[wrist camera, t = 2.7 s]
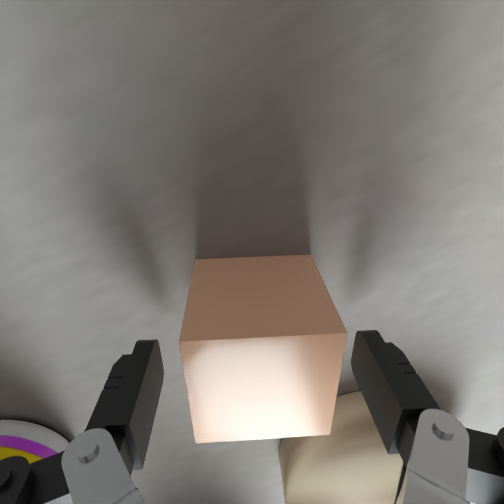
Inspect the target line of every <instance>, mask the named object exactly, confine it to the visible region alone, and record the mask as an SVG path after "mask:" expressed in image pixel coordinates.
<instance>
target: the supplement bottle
mask: <svg viewBox="0 0 504 504" xmlns="http://www.w3.org/2000/svg"><path fill="white" fill-rule="evenodd" d="M68 445H69V442H68V441H67V440H66V439H65V438H63V437H62V436H61V435H59V434H58V433H56V432H54V431H52V430H50V429H48V428H46V427H43V426H41V425H38V424H34V423H30V422H25V421H18V420H0V460H2V459H4V458H7V457H11V456H22V457H25V458H26V459H27V460H28V462H29V463H33V462H35V461H38V460H41V459H44V458H47V457H49V456H52V455H55V454H57V453H60V452H62V451H64V450H65V449H66V447H67V446H68Z"/></svg>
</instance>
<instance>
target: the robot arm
mask: <svg viewBox="0 0 504 504" xmlns="http://www.w3.org/2000/svg"><path fill="white" fill-rule="evenodd" d="M351 364H352V370H353V374H354V376H355V378H356V381H357V383H358V385H359V388H360V390H361V392H362V395H363V397H364V399H365V402H366V404H367V406H368V409H369V411H370V413H371V416H372V418H373V420H374V423H375V425H376V427H377V430H378V432H379V434H380V437H381V439H382V441H383V444H384V446H385V448H386V451H387V453H388V454H400V456H401V458H402V461H403V464H402V467H401V471H400V476H399V480H398V484H397V488H396V492H395V497H394V501H393V504H470V502H472V503H475V504H504V427H503V428H502V429H500V431H499V432H498V434H497V435H493V434H488V433H484V432H480V431H476V430H472V429H468V428H465V427H464V425H463V424H462V423H461V422H460V421H459V420H458V419H457V418H455V417H454V416H452V415H451V414H449V413H447V412H445V411H442V410H441V409H440V408H439V407H438V405H437V403H436V402H435V400H434V399H433V397H432V396H431V394H430V393H429V391H428V390H427V388H426V387H425V385H424V384H423V382H422V381H421V379H420V377H419V376H418V374H416V371H415V370H414V368H413V367H412V365H410V362H409V361H408V359H407V358H406V356H405V355H404V353H403V352H402V351H401V350H400V349H399V348H397V347H396V346H395V345H394V344H393V343H385V342H384V340H383V338H382V337H381V335H380V333H379V332H378V331H377V330H367V331H357V333H356V336H355V342H354V347H353V353H352V358H351ZM163 376H164V370H163V363H162V358H161V352H160V347H159V342H158V340H138V341H137V342H136V344H135V347H134V350H133V352H132V354H129V355H122V356H121V358H120V359H119V360H118V361H117V362H116V363H115V364H114V365H113V367H112V369H111V372H110V374H109V376H108V380H107V381H106V383H105V386H104V390H102V392H101V395H100V397H99V399H98V402H97V404H96V406H95V409H94V411H93V413H92V416H91V418H90V420H89V423H88V425H87V427H86V429H85V431H84V432H83V433H81V434H80V435H78V436H77V437H76V438H74V439H73V440H72V441H71V442H70V443H69V445H68V446H67V447H66V449H65V450H64V451H62V452H60V453H57V454H55V455H52V456H49V457H47V458H44V459H41V460H38V461H35V462H33V463H29V462H28V460H27V459H26V458H25V457H22V456H11V457H7V458H4V459H2V460H0V504H145V502H144V500H143V498H142V496H141V494H140V492H139V490H138V488H136V487H135V485H134V483H133V481H132V478H131V473H132V470H139V469H143V465H144V460H145V456H146V452H147V448H148V443H149V439H150V435H151V431H152V426H153V422H154V418H155V414H156V409H157V405H158V401H159V397H160V392H161V388H162V384H163Z"/></svg>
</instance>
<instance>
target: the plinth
mask: <svg viewBox="0 0 504 504" xmlns="http://www.w3.org/2000/svg"><path fill="white" fill-rule="evenodd" d="M279 460H280V467H281V475H282V482H283V490H284V498H285V504H393V501H394V497H395V492H396V488H397V484H398V480H399V476H400V471H401V467H402V464H403V461H402V458H401V456H400V454H388V453H387V451H386V448H385V446H384V444H383V441H382V439H381V437H380V434H379V432H378V430H377V427H376V425H375V423H374V420H373V418H372V416H371V413H370V411H369V409H368V406H367V404H366V402H365V399H364V397H363V395H362V392H361V391H357V392H352V393H348V394H345V395H341V396H338V397H336V402H335V408H334V414H333V420H332V426H331V432H330V435H317V436H302V437H287V438H282V440H281V443H280V447H279Z"/></svg>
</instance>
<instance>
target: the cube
mask: <svg viewBox="0 0 504 504" xmlns="http://www.w3.org/2000/svg"><path fill="white" fill-rule="evenodd" d="M346 338H347V331H346V329H345V327H344V325H343V322H342V320H341V318H340V316H339V314H338V312H337V310H336V308H335V305H334V303H333V301H332V299H331V297H330V295H329V293H328V290H327V288H326V286H325V284H324V282H323V280H322V278H321V276H320V273H319V271H318V269H317V267H316V265H315V263H314V261H313V259H312V256H311V255H287V256H262V257H237V258H213V259H195V264H194V269H193V274H192V279H191V284H190V289H189V294H188V299H187V304H186V309H185V314H184V319H183V324H182V329H181V334H180V339H179V345H180V351H181V357H182V364H183V370H184V376H185V382H186V388H187V394H188V401H189V407H190V413H191V419H192V425H193V431H194V438H195V444H198V443H213V442H228V441H243V440H257V439H272V438H287V437H302V436H317V435H330V432H331V426H332V420H333V414H334V408H335V402H336V397H337V391H338V385H339V379H340V373H341V367H342V362H343V356H344V350H345V344H346Z"/></svg>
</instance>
